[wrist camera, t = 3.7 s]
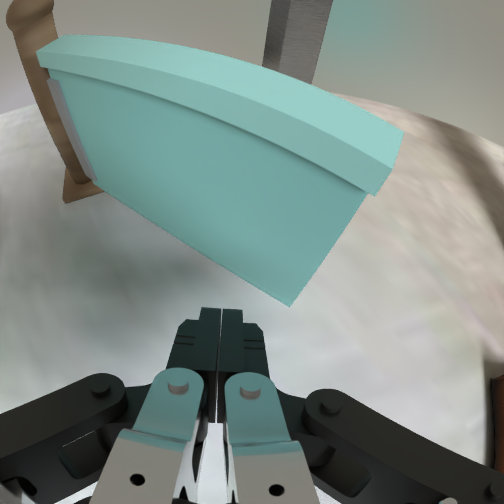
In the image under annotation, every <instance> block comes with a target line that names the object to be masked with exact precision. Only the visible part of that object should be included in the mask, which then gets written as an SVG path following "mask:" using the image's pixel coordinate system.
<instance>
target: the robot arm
mask: <svg viewBox="0 0 504 504" xmlns="http://www.w3.org/2000/svg"><path fill="white" fill-rule="evenodd" d="M220 329H221V338H220ZM217 383H218V397H217ZM216 399H217V423H223V454H224V466H225V477H226V488H227V504H320V502H319V499H318V496H317V493H316V490H315V487H314V485H315V486H316V487H318V488H319V489H321V490H322V491H323V492H325V493H326V494H328V495H329V496H331V497H332V498H334V499H335V500H337V501H338V502H340V503H341V504H504V474H503V473H501V472H498V471H496V470H494V469H491V468H489V467H486V466H484V465H482V464H479V463H477V462H475V461H472V460H470V459H468V458H466V457H464V456H461V455H459V454H457V453H455V452H453V451H451V450H449V449H446V448H444V447H442V446H440V445H438V444H436V443H434V442H432V441H430V440H428V439H426V438H424V437H422V436H420V435H418V434H416V433H414V432H413V431H411V430H409V429H407V428H405V427H403V426H401V425H399V424H398V423H396V422H394V421H392V420H390V419H388V418H387V417H385V416H383V415H381V414H379V413H378V412H376V411H374V410H372V409H371V408H369V407H367V406H365V405H364V404H362V403H360V402H359V401H357V400H355V399H353V398H352V397H350V396H348V395H347V394H345V393H343V392H341V391H338V390H334V389H320V390H316V391H314V392H312V393H311V394H310V395H309V396H308V397H307V398H306V399H305V398H300V397H296V396H291V395H288V394H285V393H283V392H281V391H280V390H278V389H277V388H276V387H275V385H274V383H273V382H272V381H271V380H270V376H269V370H268V363H267V356H266V350H265V343H264V336H263V331H262V330H261V329H260V328H259V326H258V325H257V324H255V323H243V313H242V310H237V309H223V313H222V325H221V309H219V308H205V307H202V308H201V313H200V317H199V320H190V319H186V320H185V321H184V322H183V323H182V324H181V325H180V326H179V327H178V330H177V334H176V337H175V340H174V344H173V346H172V350H171V353H170V356H169V360H168V363H167V366H166V370H164V371H162V372H160V373H159V374H158V375H157V376H156V377H155V378H154V380H153V383H151V384H149V385H145V386H136V387H125V386H124V384H123V382H122V381H121V380H120V379H119V378H118V377H116V376H114V375H111V374H107V373H98V374H93V375H90V376H88V377H85V378H83V379H81V380H79V381H77V382H74V383H72V384H70V385H68V386H66V387H63V388H61V389H59V390H56V391H54V392H52V393H50V394H47V395H45V396H43V397H40V398H38V399H36V400H33V401H31V402H29V403H26V404H24V405H21V406H19V407H17V408H14V409H12V410H9V411H7V412H4V413H2V414H0V504H54V503H56V502H58V501H60V500H62V499H64V498H66V497H68V496H70V495H72V494H74V493H76V492H78V491H80V490H82V489H84V488H86V487H88V486H89V485H91V484H93V483H95V482H97V481H98V483H97V485H96V488H95V490H94V493H93V495H92V496H89V497H87V498H84V499H82V500H80V501H78V502H76V503H74V504H197V489H198V482H199V477H200V471H201V465H202V460H203V454H204V449H205V443H206V436H207V431H208V422H209V423H215V415H216ZM92 431H93V432H92ZM90 432H91V433H90ZM88 433H89V434H88ZM86 434H87V435H86ZM84 435H85V436H84ZM82 436H83V437H82ZM73 441H74V442H73ZM71 442H72V443H71ZM69 443H70V444H69ZM67 444H68V445H67Z"/></svg>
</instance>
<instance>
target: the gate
mask: <svg viewBox="0 0 504 504" xmlns="http://www.w3.org/2000/svg"><path fill="white" fill-rule="evenodd" d="M36 54H37V57H38V61H39V64H40V67H44V68H48V71H49V74H50V78H49V79H48V80H47V83H48V86H49V89H50V92H51V95H52V97H53V100H54V103H55V105H56V108H57V111H58V113H59V116H60V118H61V121H62V123H63V125H64V128H65V130H66V133H67V135H68V137H69V140H70V142H71V144H72V147H73V149H74V151H75V153H76V155H77V158H78V160H79V162H80V164H81V166H82V168H83V170H84V172H85V175H86V176H87V177H89V178H90V179H92V181H93V183H94V184H95V185H96V186H98V187H99V188H101V189H102V190H104V191H105V192H107V193H108V194H110V195H111V196H113V197H114V198H116V199H117V200H119V201H120V202H122V203H123V204H125V205H126V206H128V207H129V208H131V209H133V210H134V211H136V212H137V213H139V214H140V215H142V216H143V217H145V218H146V219H148V220H149V221H151V222H153V223H154V224H156V225H157V226H159V227H160V228H162V229H163V230H165V231H167V232H168V233H170V234H171V235H173V236H174V237H176V238H178V239H179V240H181V241H182V242H184V243H185V244H187V245H189V246H190V247H192V248H193V249H195V250H197V251H198V252H200V253H201V254H203V255H205V256H206V257H208V258H209V259H211V260H213V261H214V262H216V263H217V264H219V265H221V266H222V267H224V268H226V269H227V270H229V271H230V272H232V273H234V274H235V275H237V276H239V277H240V278H242V279H244V280H245V281H247V282H248V283H250V284H252V285H253V286H255V287H257V288H258V289H260V290H262V291H263V292H265V293H267V294H268V295H270V296H272V297H273V298H275V299H277V300H278V301H280V302H282V303H283V304H285V305H287V306H289V307H290V306H291V305H292V303H293V302H294V301H295V299H296V298H297V296H298V295H299V294H300V292H301V291H302V290H303V288H304V287H305V285H306V284H307V283H308V281H309V280H310V279H311V277H312V276H313V274H314V273H315V271H316V270H317V269H318V267H319V266H320V264H321V263H322V262H323V260H324V259H325V257H326V256H327V254H328V253H329V251H330V250H331V249H332V247H333V246H334V244H335V243H336V241H337V240H338V238H339V237H340V235H341V234H342V232H343V231H344V229H345V228H346V226H347V225H348V223H349V222H350V220H351V219H352V217H353V216H354V214H355V213H356V211H357V210H358V208H359V206H360V205H361V203H362V202H363V200H364V199H365V197H366V195H367V194H368V193H369V194H371V195H372V196H374V197H375V195H376V194H377V192H378V191H379V189H380V188H381V186H382V185H383V183H384V182H385V180H386V179H387V177H388V176H389V174H390V172H391V171H392V169H393V166H394V163H395V160H396V157H397V154H398V151H399V148H400V145H401V141H402V138H403V135H404V132H403V131H401V130H400V129H398V128H396V127H395V126H393V125H391V124H389V123H388V122H386V121H384V120H382V119H381V118H379V117H377V116H375V115H373V114H371V113H370V112H368V111H366V110H364V109H362V108H360V107H358V106H356V105H354V104H352V103H350V102H348V101H346V100H344V99H342V98H339V97H337V96H335V95H333V94H331V93H329V92H326V91H324V90H321V89H319V88H317V87H315V86H312V85H310V84H308V83H305V82H303V81H300V80H298V79H295V78H292V77H290V76H287V75H284V74H282V73H279V72H276V71H273V70H270V69H267V68H264V67H261V66H258V65H255V64H252V63H248V62H245V61H242V60H239V59H235V58H232V57H228V56H224V55H220V54H217V53H213V52H208V51H204V50H199V49H195V48H191V47H186V46H181V45H175V44H170V43H164V42H158V41H151V40H144V39H135V38H126V37H115V36H100V35H63V36H61V37H60V38H58V39H56V40H54V41H52V42H51V43H49V44H47V45H46V46H44V47H42V48H41V49H39V50H38V51H36Z"/></svg>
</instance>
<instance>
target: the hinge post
mask: <svg viewBox="0 0 504 504" xmlns="http://www.w3.org/2000/svg"><path fill="white" fill-rule="evenodd" d="M53 6H54V0H14V1H13V2H12V3H11V5H10V6H9V9H8V11H7V14H6V23H7V26H8V28H9V29H10V30H11V31H12V32H13V35H14V39H15V42H16V46H17V49H18V52H19V55H20V58H21V61H22V64H23V67H24V70H25V73H26V76H27V78H28V81H29V84H30V87H31V89H32V92H33V94H34V97H35V99H36V102H37V104H38V107H39V109H40V112H41V114H42V116H43V119H44V121H45V123H46V125H47V128H48V130H49V132H50V134H51V136H52V138H53V141H54V143H55V145H56V147H57V149H58V151H59V153H60V155H61V157H62V159H63V161H64V163H65V165H66V171H65V179H64V188H63V201H64V202H65V204H66V203H69V202H72V201H75V200H78V199H82V198H85V197H88V196H91V195H94V194H98V193H101V192H104V190H102V189H101V188H99V187H98V186H96V185H95V184H94V183H93V181H92V179H90V178H89V177H87V176H86V175H85V172H84V170H83V168H82V166H81V164H80V162H79V160H78V158H77V155H76V153H75V151H74V149H73V147H72V144H71V142H70V140H69V137H68V135H67V133H66V130H65V128H64V125H63V123H62V121H61V118H60V116H59V113H58V111H57V108H56V105H55V103H54V100H53V97H52V95H51V92H50V89H49V86H48V83H47V80H48V79H49V78H50V74H49V71H48V68H44V67H40V64H39V61H38V57H37V54H36V51H38V50H39V49H41V48H42V47H44V46H46V45H47V44H49V43H51V42H52V41H54V40H56V39H58V36H57V32H56V27H55V23H54V18H53V13H52V10H53Z"/></svg>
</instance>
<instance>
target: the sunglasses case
mask: <svg viewBox="0 0 504 504" xmlns="http://www.w3.org/2000/svg"><path fill="white" fill-rule="evenodd" d="M490 379H491V378H490ZM491 391H492V399H493V412H494V427H495V433H496V434H495V453H496V459H495V463H494V470H496V471H498V472H501V473H503V474H504V375H502V376H500V377H498V378H495V379H492V385H491Z"/></svg>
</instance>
